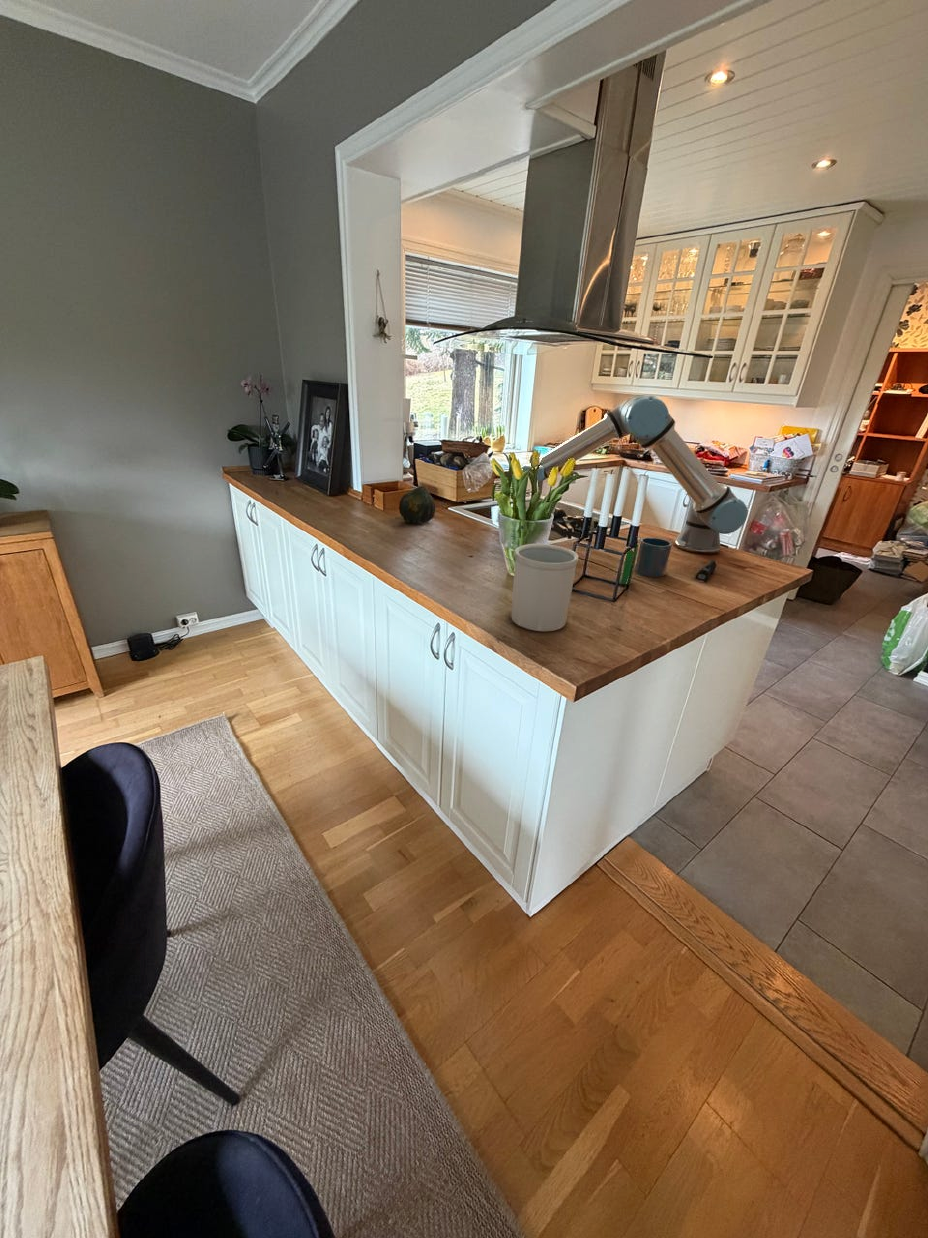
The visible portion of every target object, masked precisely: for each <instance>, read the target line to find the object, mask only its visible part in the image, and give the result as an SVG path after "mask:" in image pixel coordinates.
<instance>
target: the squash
mask: <svg viewBox="0 0 928 1238" xmlns="http://www.w3.org/2000/svg"><path fill="white" fill-rule="evenodd" d="M398 511H399V515H400V516H401V517H402V519H403V520H404V521H405V522H406V523H408V524H412V523H413V524H418V523H419V522H420V523H424V522H429V521H431V520H433V518H434V517H435V514H436V503H435V500H434V498H433V496H432V495H431V493H430V492H429V490H428V489H427V488H426V486H425V485H420V486H417V487H415V488H413V489H411V490H410V491H408V492H406V493H404V494H403V495H402V497H401V498H400V500H399V504H398Z"/></svg>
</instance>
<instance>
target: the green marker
mask: <svg viewBox="0 0 928 1238" xmlns="http://www.w3.org/2000/svg"><path fill="white" fill-rule="evenodd" d="M637 537H638V536H637ZM640 543H641V538H640V537H638V543H637V547H636V551H635V560H634V564H633V570H632V575H631V581H630V583H629V584H628V585H631V584H632V583H631V582H632V578H633V573H634V570H635V565H636V560H637V555H638V551H639V546H640ZM626 554H627V555H626ZM626 554H625V558H624V563H623V564H624V565H623V569H622V575H621V579H620V584H622V585H627V584H626V582H627V579H628V576H629V574H630V570H631V563H632V560H633V555H634V552H633V551H632V550H631V551H629V552H628V553H627V552H626Z"/></svg>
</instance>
